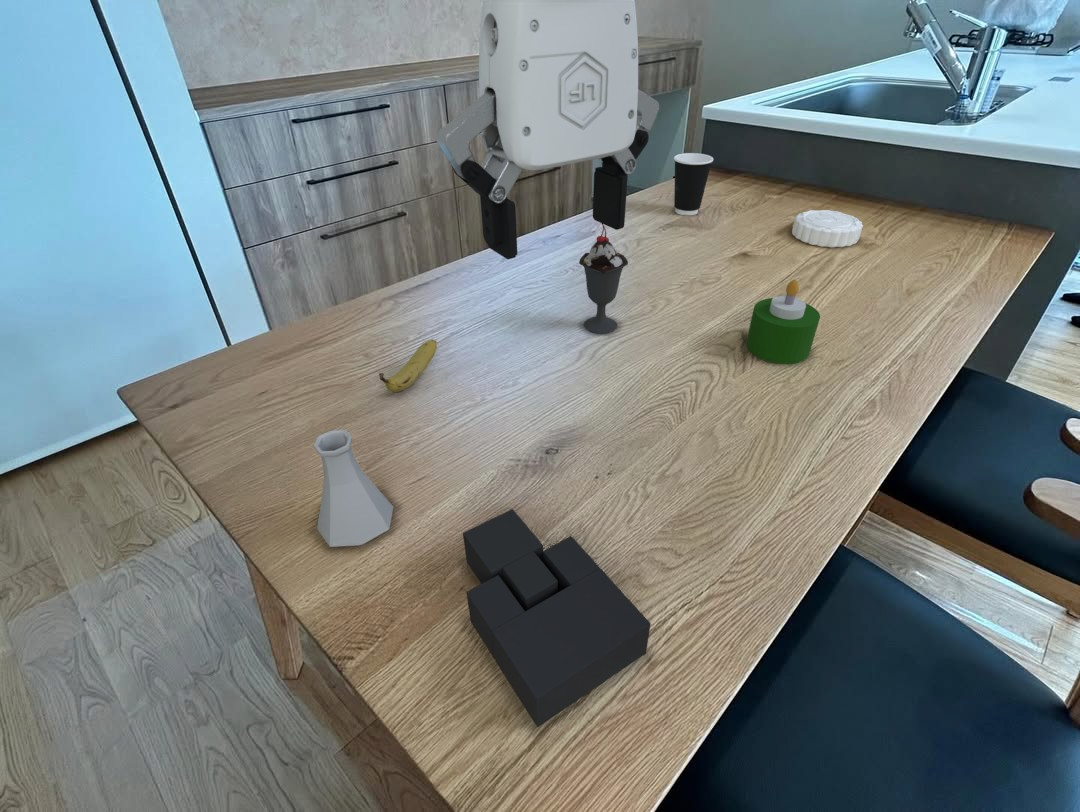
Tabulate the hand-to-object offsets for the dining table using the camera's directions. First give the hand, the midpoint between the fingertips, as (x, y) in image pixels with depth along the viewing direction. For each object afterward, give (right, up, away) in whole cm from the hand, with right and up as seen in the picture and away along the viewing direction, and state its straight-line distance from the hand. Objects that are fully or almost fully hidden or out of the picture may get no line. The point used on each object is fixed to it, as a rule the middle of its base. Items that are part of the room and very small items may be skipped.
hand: (557, 237), depth 44 cm
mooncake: (+54, +20, +69) cm, 90 cm away
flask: (-19, -24, +13) cm, 33 cm away
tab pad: (-3, -28, +6) cm, 29 cm away
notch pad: (0, -31, +2) cm, 31 cm away
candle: (+31, -5, +37) cm, 48 cm away
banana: (-18, -10, +32) cm, 38 cm away
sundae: (+8, -1, +43) cm, 43 cm away
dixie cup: (+30, +29, +82) cm, 92 cm away
